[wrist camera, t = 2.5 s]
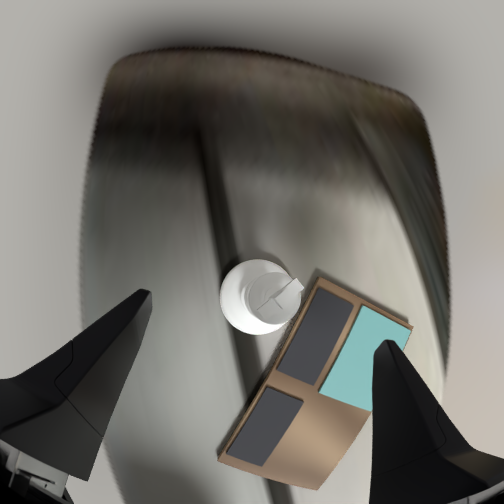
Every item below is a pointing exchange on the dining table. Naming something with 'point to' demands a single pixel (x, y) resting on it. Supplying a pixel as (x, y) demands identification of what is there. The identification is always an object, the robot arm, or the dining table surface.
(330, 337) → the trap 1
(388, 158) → the dining table surface
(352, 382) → the pad
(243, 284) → the chess piece
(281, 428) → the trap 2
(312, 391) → the walnut board
